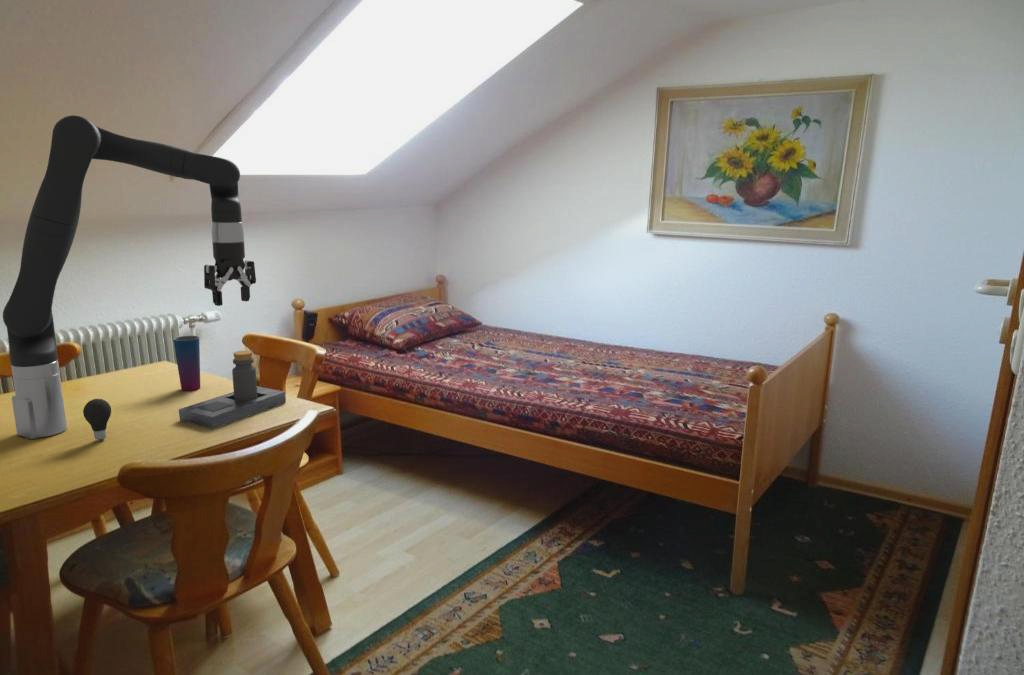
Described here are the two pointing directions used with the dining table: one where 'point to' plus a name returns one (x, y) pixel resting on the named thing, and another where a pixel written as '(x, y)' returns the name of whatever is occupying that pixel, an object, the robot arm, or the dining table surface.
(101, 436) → the light bulb
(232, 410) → the panel
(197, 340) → the cup
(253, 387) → the bottle
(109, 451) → the dining table surface
